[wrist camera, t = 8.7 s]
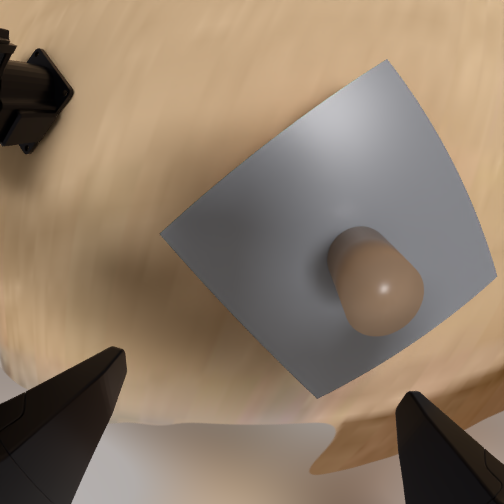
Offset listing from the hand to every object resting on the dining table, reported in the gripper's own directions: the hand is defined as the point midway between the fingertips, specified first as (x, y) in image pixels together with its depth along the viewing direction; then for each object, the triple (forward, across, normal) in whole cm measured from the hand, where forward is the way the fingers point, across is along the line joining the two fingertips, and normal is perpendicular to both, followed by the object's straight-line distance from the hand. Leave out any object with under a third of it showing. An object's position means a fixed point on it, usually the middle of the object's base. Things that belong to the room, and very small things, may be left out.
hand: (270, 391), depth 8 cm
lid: (+7, -4, -2) cm, 8 cm away
